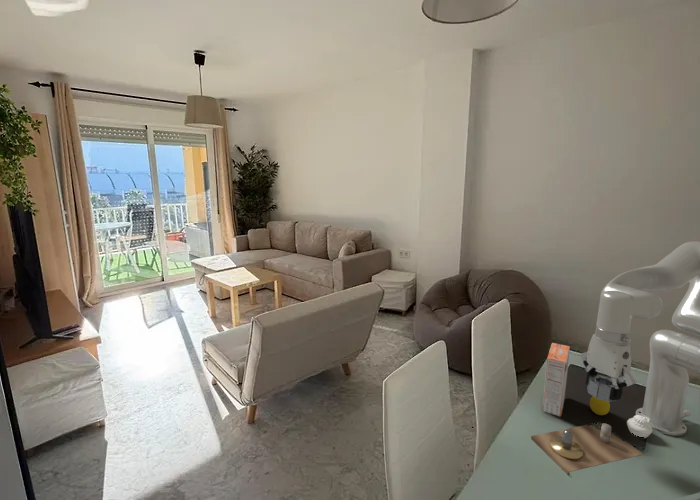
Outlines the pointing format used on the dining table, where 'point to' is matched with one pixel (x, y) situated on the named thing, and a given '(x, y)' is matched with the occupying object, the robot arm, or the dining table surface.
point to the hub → (566, 446)
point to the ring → (600, 387)
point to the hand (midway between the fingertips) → (602, 391)
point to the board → (588, 447)
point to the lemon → (599, 406)
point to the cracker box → (556, 379)
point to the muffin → (639, 426)
